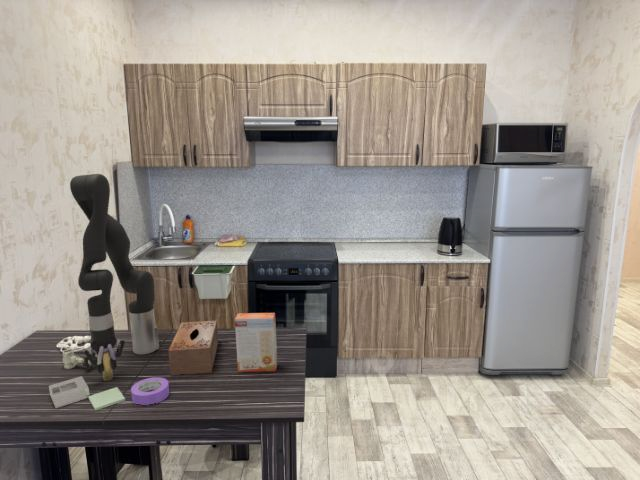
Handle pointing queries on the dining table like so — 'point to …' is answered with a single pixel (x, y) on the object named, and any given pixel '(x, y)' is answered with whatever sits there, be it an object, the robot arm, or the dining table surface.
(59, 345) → the tangled rod sculpture
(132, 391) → the masking tape
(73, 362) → the valve
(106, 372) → the knob
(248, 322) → the cracker box
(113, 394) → the pad
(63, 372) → the dining table surface
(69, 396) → the block
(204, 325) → the tissue box cover
